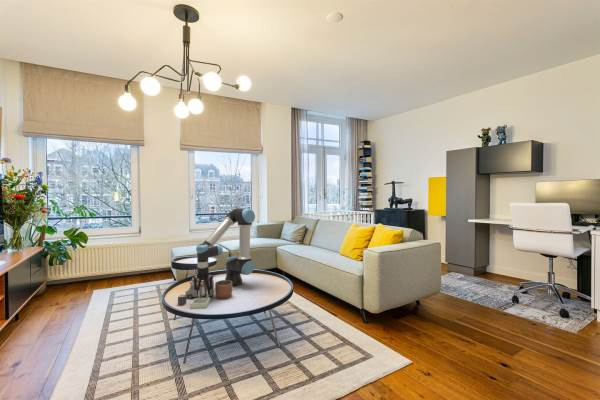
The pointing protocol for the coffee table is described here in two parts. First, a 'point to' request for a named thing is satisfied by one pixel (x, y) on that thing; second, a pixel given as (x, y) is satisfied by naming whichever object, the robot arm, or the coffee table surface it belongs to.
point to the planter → (223, 289)
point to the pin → (203, 290)
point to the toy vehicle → (193, 293)
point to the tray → (200, 303)
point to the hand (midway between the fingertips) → (203, 299)
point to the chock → (182, 300)
